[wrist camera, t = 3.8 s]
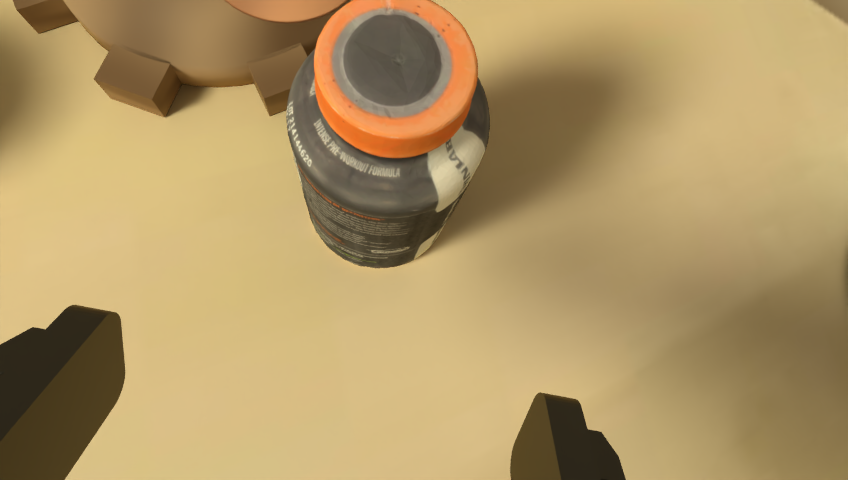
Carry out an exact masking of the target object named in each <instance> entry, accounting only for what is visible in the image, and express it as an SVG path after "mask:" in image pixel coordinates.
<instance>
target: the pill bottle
mask: <svg viewBox="0 0 848 480" xmlns="http://www.w3.org/2000/svg"><path fill="white" fill-rule="evenodd" d="M286 117H287V129H288V136H289V139H290V143H291V147H292V150H293V156H294V160H295V164H296V168H297V171H298V175H299V179H300V182H301V185H302V189H303V193H304V198H305V200H306V204H307V207H308V211H309V214H310V218H311V221H312V223H313V225H314V227H315V229H316V231H317V233H318V234H319V236H320V237H321V239H322V240H323V241H324V243H325V244H326V245H327V246H328V247H329V248H330V249H331V250H332V251H333V252H335V253H336V254H337V255H339V256H340V257H342V258H343V259H345V260H347V261H349V262H351V263H353V264H356V265H359V266H367V267H372V268H388V267H395V266H400V265H402V264H405V263H408V262H410V261H412V260H414V259H416V258H417V257H418V256H420V255H421V254H423V253H424V252H425V251H426V250H427V249H428V248H429V247H430V246H431V245H432V244H433V243H434V242H435V240H436V239H437V237H438V236H439V234H440V232H441V231H442V229H443V227H444V225H445V224H446V222H447V220H448V219H449V217H450V215H451V214H452V212H453V211H454V209H455V207H456V205H457V203H458V202H459V200H460V198H461V197H462V195H463V193H464V192H465V190H466V188H467V186H468V185H469V183H470V180H471V178H472V177H473V175H474V173H475V171H476V169H477V168H478V166H479V164H480V162H481V159H482V157H483V155H484V152H485V150H486V147H487V143H488V137H489V129H490V117H489V108H488V103H487V98H486V95H485V92H484V89H483V87H482V85H481V82H480V80H479V78H478V63H477V57H476V53H475V49H474V46H473V44H472V41H471V39H470V37H469V35H468V34H467V32H466V30H465V28H464V27H463V26H462V24H461V23H460V22H459V21H458V20H457V19H456V18H455V17H454V16H453V15H452V14H451V13H450V12H448V11H447V10H446V9H444V8H443V7H441V6H439V5H438V4H436V3H434V2H433V1H431V0H353V1H351V2H349V3H348V4H346V5H345V6H343V7H342V8H341V9H339V10H338V11H337V12H336V13H335V14H334V15H333V16H332V17H331V18H330V19H329V20H328V22H327V23H326V25H325V26H324V28H323V30H322V32H321V34H320V35H319V37H318V40H317V44H316V48H315V49H314V50H313V51H312V52H311V53H310V55H309V56H308V57H307V58H306V59H305V61H304V62H303V64H302V65H301V67H300V69H299V70H298V72H297V74H296V76H295V78H294V80H293V83H292V86H291V89H290V93H289V97H288V102H287V116H286Z"/></svg>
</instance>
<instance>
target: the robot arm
mask: <svg viewBox="0 0 848 480" xmlns="http://www.w3.org/2000/svg"><path fill="white" fill-rule="evenodd" d="M124 379H125V363H124V351H123V340H122V328H121V319H120V316H119V315H118V314H117V313H116V312H111V311H105V310H100V309H94V308H89V307H84V306H78V305H72V306H69V307H68V308H66V309H65V310H64V311H63V312H62V313H61V314H60V315H59V316H58V317H57V318H56V319H55V320H54V321H53V322H52V323H51V325H50V326H49V327H48V328H47V329H46V330H45V329H40V328H34V327H32V328H30V329H29V330H27V331H25V332H23V333H21V334H19V335H17V336H16V337H14V338H12V339H10V340H8V341H6V342H4V343H3V344H1V345H0V480H65V478H66V477H67V475H68V474H69V472H70V471H71V469H72V468H73V466H74V465H75V463H76V462H77V460H78V459H79V457H80V456H81V454H82V453H83V451H84V450H85V449H86V447H87V446H88V444H89V443H90V441H91V440H92V438H93V437H94V435H95V434H96V432H97V431H98V429H99V428H100V426H101V425H102V423H103V422H104V420H105V419H106V417H107V416H108V415H109V413H110V412H111V410H112V409H113V407H114V406H115V404H116V402H117V400H118V398H119V396H120V393H121V391H122V388H123V384H124ZM510 473H511V480H626V479H625V476H624V473H623V469H622V466H621V463H620V460H619V457H618V455H617V454H616V452H615V451H614V449H613V448H612V447H611V445H610V444H609V442H608V441H607V440H606V438H605V437H604V435H603V434H602V432H599V431H593V430H588V429H587V426H586V422H585V419H584V415H583V411H582V408H581V405H580V403H579V401H578V400H576V399H572V398H567V397H561V396H556V395H550V394H545V393H538V394H537V395H536V396H535V398H534V400H533V402H532V405H531V407H530V409H529V411H528V414H527V416H526V418H525V420H524V423H523V425H522V427H521V429H520V432H519V434H518V436H517V438H516V441H515V443H514V446H513V450H512V456H511V467H510Z"/></svg>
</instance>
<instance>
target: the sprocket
mask: <svg viewBox="0 0 848 480" xmlns="http://www.w3.org/2000/svg"><path fill="white" fill-rule="evenodd" d="M351 1H353V0H13V2H14V5H15V7H16V10H17V11H18V12H19V13H20V14H21V15H22V16H23V17H24V18H25V20H26V21H27V22H28V23H29V24H30V25H31V26H32V27H33V28H34V29H35V30H36V31H37V32H38V33H41V32H45V31H48V30H51V29H54V28H57V27H60V26H63V25H66V24H69V23H72V22H76V21H79V22H80V23H81V24H82V26H83V27H84V28H85V29H86V31H87V32H88V33H89V34H90V35H91V36H92V37H93V38H94V39H95V40H96V41H97V42H98V43H99V44H100V45H101V46H102V47H104V48H105V49H106V50H108V51H109V52H108V54H107V56H106V58H105V60H104V61H103V63H102V65H101V67H100V69H99V70H98V72H97V74H96V76H95V78H94V80H95V81H96V82H97V83H98V84H99V85H100V87H101V88H102V89H103V90H104V91H105V92H106V93H107V95H108V96H109V97H110V98H111V99H114V100H117V101H120V102H123V103H126V104H128V105H131V106H134V107H137V108H140V109H143V110H145V111H148V112H151V113H154V114H157V115H159V116H162V117H165V116H166V114H167V112H168V110H169V108H170V106H171V104H172V102H173V100H174V98H175V96H176V94H177V92H178V90H179V88H180V87H181V85H182V84H187V85H193V86H205V87H229V86H242V85H247V84H253V83H254V84H255V86H256V88H257V90H258V92H259V94H260V97H261V99H262V101H263V103H264V105H265V107H266V109H267V111H268V113H269V115H270V116H271V115H274V114H276V113H279V112H282V111H284V110H287V102H288V97H289V93H290V89H291V86H292V83H293V80H294V78H295V76H296V74H297V72H298V70H299V69H300V67H301V65H302V64H303V62H304V61H305V59H306V58H307V57H308V56H309V55H310V53H311V52H312V51H313V50H314V49H315V48H316V44H317V40H318V37H319V35H320V34H321V32H322V30H323V28H324V26H325V25H326V23H327V22H328V20H329V19H330V18H331V17H332V16H333V15H334V14H335V13H336V12H337V11H338V10H339V9H341V8H342V7H343V6H345V5H346V4H348V3H349V2H351Z"/></svg>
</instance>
